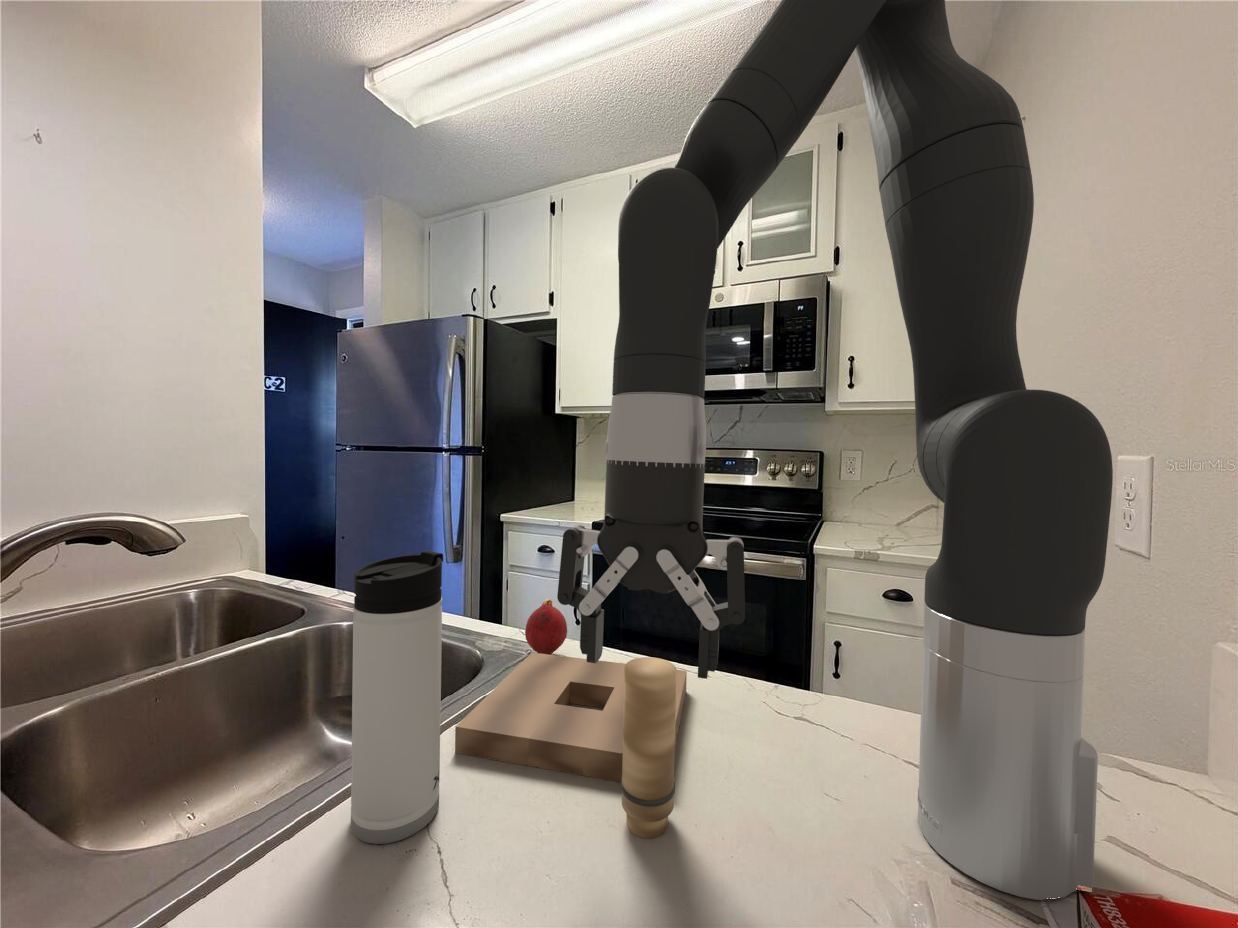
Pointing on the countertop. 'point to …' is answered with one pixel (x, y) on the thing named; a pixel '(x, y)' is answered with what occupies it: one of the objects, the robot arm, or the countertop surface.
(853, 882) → the countertop surface
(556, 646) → the red egg-shaped piece
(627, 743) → the oak peg
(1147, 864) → the countertop surface
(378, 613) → the travel mug
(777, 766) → the countertop surface
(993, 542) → the robot arm
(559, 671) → the walnut board
